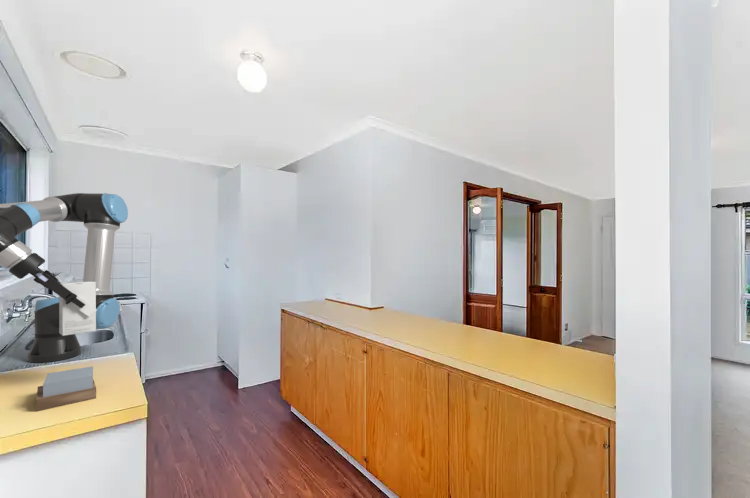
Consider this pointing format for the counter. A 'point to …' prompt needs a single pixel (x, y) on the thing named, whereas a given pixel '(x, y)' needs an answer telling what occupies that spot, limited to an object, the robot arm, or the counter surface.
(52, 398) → the tower base
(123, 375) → the counter surface
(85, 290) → the skincare box
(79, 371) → the tower top
